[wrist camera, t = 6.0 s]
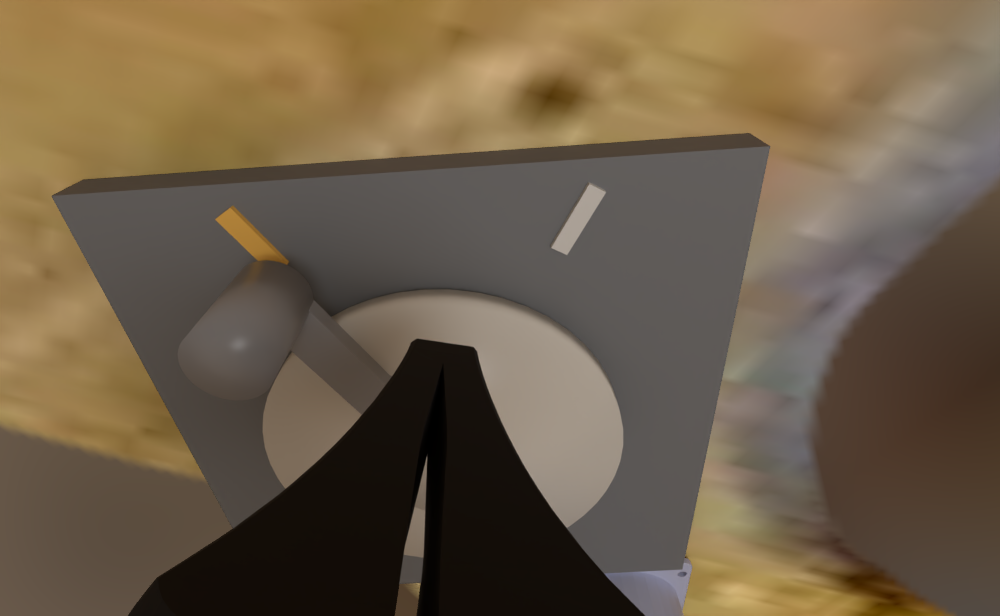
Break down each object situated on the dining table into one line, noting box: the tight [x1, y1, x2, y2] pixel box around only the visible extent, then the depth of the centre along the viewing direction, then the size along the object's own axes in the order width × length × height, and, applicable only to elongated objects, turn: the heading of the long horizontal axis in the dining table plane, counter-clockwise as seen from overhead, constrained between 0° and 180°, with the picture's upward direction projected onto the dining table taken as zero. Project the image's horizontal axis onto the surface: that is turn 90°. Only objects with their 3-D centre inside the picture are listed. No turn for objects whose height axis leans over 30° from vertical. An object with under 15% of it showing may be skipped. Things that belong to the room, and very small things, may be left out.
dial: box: [178, 260, 623, 557], centre depth 19 cm, size 17×14×5 cm
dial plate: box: [52, 133, 770, 584], centre depth 23 cm, size 22×22×2 cm
